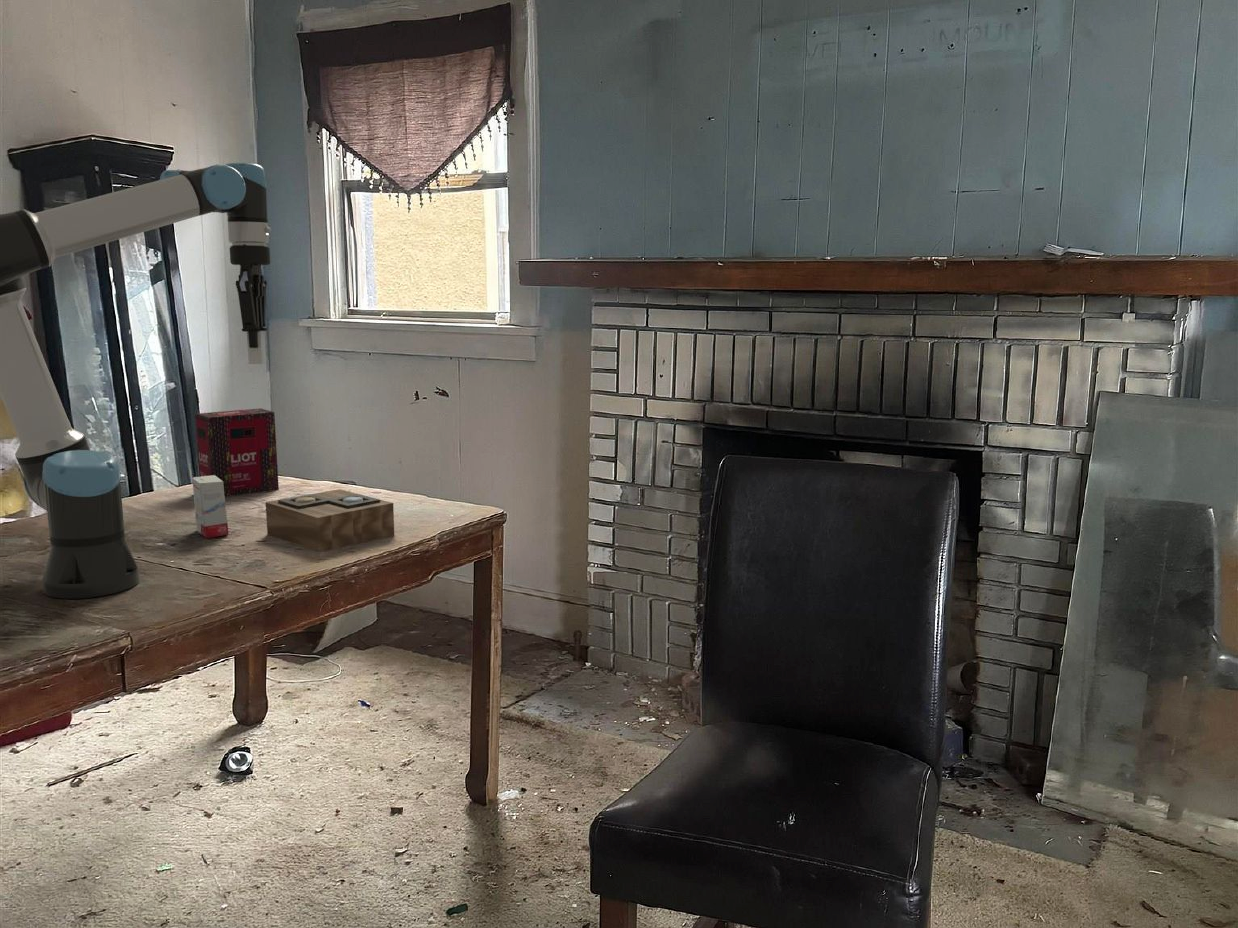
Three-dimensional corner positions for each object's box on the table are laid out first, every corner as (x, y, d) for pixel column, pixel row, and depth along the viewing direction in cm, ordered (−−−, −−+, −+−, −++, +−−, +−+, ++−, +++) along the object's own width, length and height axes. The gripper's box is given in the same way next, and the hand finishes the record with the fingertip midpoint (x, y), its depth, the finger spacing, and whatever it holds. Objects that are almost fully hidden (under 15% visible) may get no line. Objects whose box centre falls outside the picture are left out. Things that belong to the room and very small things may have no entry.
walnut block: (319, 551, 202) (317, 514, 201) (267, 534, 215) (265, 499, 214) (394, 535, 215) (393, 500, 214) (341, 519, 228) (339, 486, 227)
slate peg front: (351, 536, 213) (350, 502, 211) (341, 533, 215) (339, 499, 214) (368, 533, 216) (366, 498, 214) (357, 530, 218) (355, 496, 217)
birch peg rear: (303, 537, 212) (302, 502, 211) (293, 533, 215) (291, 499, 213) (320, 533, 215) (319, 499, 214) (310, 530, 218) (308, 496, 216)
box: (265, 484, 266) (260, 408, 262) (278, 489, 259) (274, 412, 255) (200, 492, 255) (195, 413, 252) (212, 498, 249) (207, 417, 245)
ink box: (229, 536, 214) (225, 481, 212) (203, 539, 211) (199, 483, 209) (219, 527, 221) (216, 474, 219) (195, 530, 218) (191, 476, 216)
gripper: (259, 244, 195) (266, 366, 200) (277, 245, 208) (284, 361, 212) (219, 243, 195) (227, 366, 199) (240, 245, 208) (247, 361, 212)
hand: (256, 363), depth 206 cm, fingers closed
